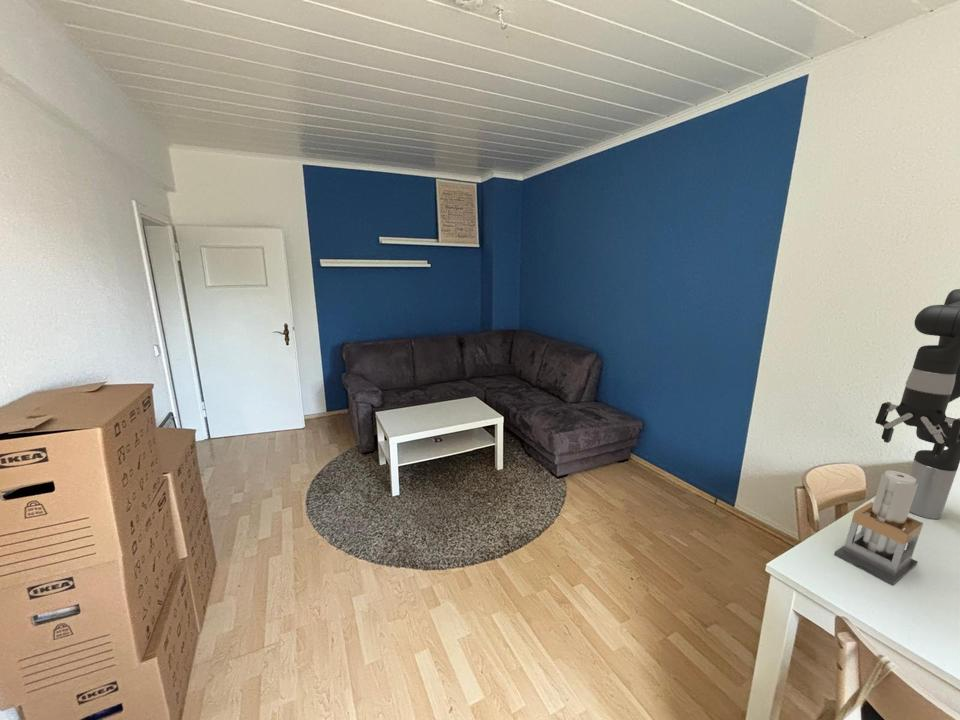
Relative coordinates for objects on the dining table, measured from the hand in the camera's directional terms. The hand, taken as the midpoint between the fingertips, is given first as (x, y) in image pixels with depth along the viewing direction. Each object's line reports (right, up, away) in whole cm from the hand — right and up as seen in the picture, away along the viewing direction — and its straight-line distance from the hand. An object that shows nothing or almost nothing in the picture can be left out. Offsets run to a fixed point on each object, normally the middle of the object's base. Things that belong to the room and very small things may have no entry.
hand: (909, 448), depth 99 cm
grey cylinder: (0, -32, +8) cm, 33 cm away
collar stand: (0, -33, +8) cm, 34 cm away
